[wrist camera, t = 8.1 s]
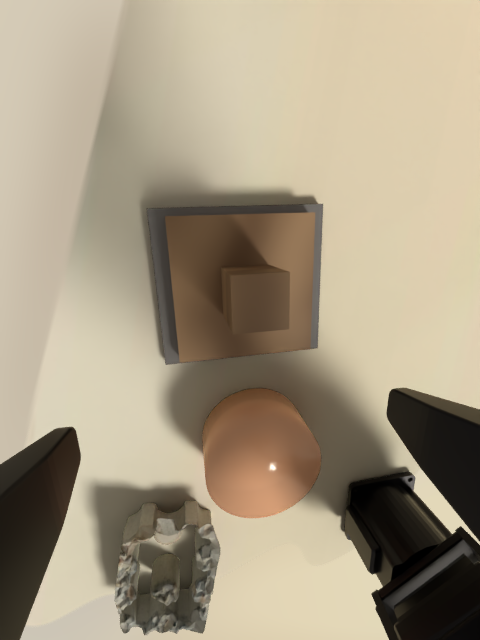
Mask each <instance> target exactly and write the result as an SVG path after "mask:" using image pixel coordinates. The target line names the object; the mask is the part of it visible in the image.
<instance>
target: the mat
mask: <svg viewBox="0 0 480 640" xmlns="http://www.w3.org/2000/svg"><path fill="white" fill-rule="evenodd" d="M310 212H315V235H314V263H313V292H312V320H311V348H310V349H314V348H318V322H319V295H320V269H321V243H322V217H323V204H300V205H261V206H222V207H183V208H147V214H148V223H149V231H150V239H151V248H152V256H153V264H154V272H155V281H156V289H157V297H158V305H159V314H160V322H161V330H162V339H163V347H164V355H165V363H166V365H168V364H177V363H180V360H179V350H178V340H177V330H176V320H175V310H174V300H173V291H172V281H171V271H170V261H169V251H168V241H167V231H166V221H165V216H194V215H233V214H272V213H310ZM295 351H296V350H295ZM286 352H287V351H286ZM276 353H278V352H276ZM267 354H269V353H267ZM257 355H259V354H257ZM248 356H250V355H248ZM238 357H241V356H238ZM229 358H232V357H229ZM219 359H223V358H219ZM210 360H214V359H210ZM200 361H205V360H200ZM191 362H195V361H191ZM181 363H186V362H181Z"/></svg>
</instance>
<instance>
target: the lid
mask: <svg viewBox="0 0 480 640" xmlns="http://www.w3.org/2000/svg"><path fill="white" fill-rule="evenodd" d="M165 221H166V231H167V241H168V251H169V261H170V271H171V281H172V291H173V300H174V310H175V320H176V330H177V340H178V350H179V360H180V363H181V362H191V361H200V360H210V359H219V358H229V357H238V356H248V355H257V354H267V353H276V352H286V351H295V350H305V349H310V348H311V320H312V292H313V263H314V235H315V212H310V213H272V214H233V215H194V216H165Z"/></svg>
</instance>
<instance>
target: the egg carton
mask: <svg viewBox="0 0 480 640" xmlns="http://www.w3.org/2000/svg"><path fill="white" fill-rule="evenodd" d="M188 524H193V525H196V526H197V527H196V529H195V556H194V557H193V559H192V584H191V585H190V587H189V588H187V589H179V588H180V560H179V558H178V557H177V556H175V555H174V554H163V555H161V556H159V557H157V558H156V559H155V561H154V562H153V569H152V578H151V587H150V594H141V595H140V594H139V592H138V590H137V587H138V579H139V572H140V564H139V562H138V554H139V548H140V542H142V541H147V540H149V539H150V538H151V537H152V536H153V535H155V537H154V538H155V540H156V541H157V542H159V543H161V544H165V545H168V544H172V543H175V542H176V541H177V540H178V539H179V538H180V536H181V534H182V531H181V530H182V529H184V528H185V527H186V525H188ZM154 533H155V534H154ZM121 548H122V551H123V553H120V556H119V566H118V573H117V581H116V589H115V603H116V607H117V609H118V613H119V614H120V627H121V629H122V631H123V633H127V632H129V630H130V628H131V627H136V626H138V627H140V628H142V630H143V633H144V635H147V634H148V633H149V632H151V631H153V630H156V631H158V632H159V633H163V632H167V631H170V632H174V633H176V634H177V633H178V631H179V630H180V629H186V630H191V631H194V632H198V633H203V632H204V628H205V624H206V618H207V614H208V607H209V602H210V600H211V595H212V594H213V587H214V580H215V576H216V569H217V564H218V561H219V557H220V545H219V542H218V539H217V537H216V534H215V532H214V528H213V525H212V524H211V512H210V510H204V509H202V508H200V506H199V505H198V503H197V501H185V502H184V505H183V506H182V507H181V508H180V509H179V510H178V511H175V512H172V513H164V512H161V511H160V510H158V508H157V506H156V504H155V503H145V504H143V505H142V507H141V509H140V510H139V511H138V512H137V513H136V514H134V515H131V516H129V517H128V520H127V524H126V526H125V529H124V533H123V542H122V546H121Z"/></svg>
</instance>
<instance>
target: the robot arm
mask: <svg viewBox="0 0 480 640" xmlns="http://www.w3.org/2000/svg"><path fill="white" fill-rule="evenodd" d="M387 418H388V420H389V422H390V424H391V425H392V427H393V428H394V430H395V431H396V433H397V434H398V435H399V437H400V438H401V440H402V441H403V443H404V444H405V446H406V447H407V449H408V450H409V452H410V453H411V455H412V456H413V458H414V459H415V461H416V462H417V464H418V465H419V466H420V468H421V469H422V470H423V471H424V473H425V474H426V475H427V477H428V478H429V479H430V480H431V481H432V483H433V484H434V485H435V486H436V488H437V489H438V490H439V491H440V493H441V494H442V495H443V496H444V498H445V499H446V500H447V501H448V503H449V504H450V505H451V506H452V507H453V509H454V510H455V511H456V513H457V514H458V515H459V516H460V518H461V519H462V520H463V521H464V522H465V524H466V525H467V526H468V528H469V529H470V530H471V531H472V533H473V534H474V535H475V536H476V537H477V539H478V540H479V541H480V410H479V409H476V408H473V407H469V406H466V405H462V404H459V403H456V402H452V401H449V400H445V399H442V398H439V397H435V396H432V395H428V394H425V393H422V392H418V391H415V390H411V389H408V388H396V389H392V390H391V391H390V393H389V398H388V406H387ZM80 460H81V454H80V448H79V444H78V439H77V434H76V430H75V429H74V428H73V427H64V428H57V429H54V430H53V431H51V432H50V433H48V434H47V435H45V436H44V437H42V438H40V439H39V440H37V441H36V442H34V443H33V444H31V445H30V446H28V447H27V448H25V449H23V450H22V451H20V452H19V453H17V454H16V455H14V456H13V457H11V458H10V459H8V460H7V461H5V462H3V463H2V464H0V640H20V638H21V635H22V632H23V630H24V627H25V625H26V622H27V619H28V617H29V614H30V611H31V609H32V606H33V604H34V601H35V598H36V596H37V593H38V590H39V588H40V585H41V583H42V580H43V577H44V575H45V572H46V569H47V567H48V564H49V562H50V559H51V556H52V554H53V551H54V548H55V546H56V543H57V541H58V538H59V535H60V532H61V530H62V527H63V524H64V520H65V517H66V514H67V510H68V506H69V502H70V499H71V495H72V491H73V487H74V484H75V480H76V476H77V472H78V469H79V465H80ZM414 483H415V476H414V475H413V474H412V473H411V472H406V473H401V474H396V475H390V476H385V477H380V478H375V479H369V480H364V481H359V482H354V483H352V484H350V486H349V490H348V502H347V508H346V517H345V535H346V537H347V539H348V540H352V542H353V544H354V546H355V548H356V549H357V551H358V553H359V555H360V557H361V559H362V560H363V562H364V564H365V566H366V568H367V570H368V571H369V572H370V573H371V574H376V575H377V577H378V578H379V580H380V582H381V584H382V585H383V587H382V588H381V589H380V590H376V591H374V592H373V593H372V597H373V599H374V601H375V604H376V611H377V613H378V615H379V617H380V619H381V622H382V624H383V626H384V628H385V631H386V633H387V635H388V638H389V640H480V545H479V544H478V543H477V542H476V541H475V540H474V539H473V538H472V537H471V536H470V535H469V534H468V533H467V532H466V531H465V530H464V529H463V528H462V527H461V526H460V527H459V528H457V529H456V530H455V531H456V532H455V533H454V534H451V532H450V531H449V530H448V529H447V528H446V527H445V526H444V525H443V523H442V522H441V521H440V520H439V519H438V518H437V517H436V516H435V515H434V513H433V512H432V511H431V510H430V509H429V508H428V507H427V506H426V504H425V503H424V502H423V501H422V500H421V499H420V498H419V497H418V496H417V494H416V493H415V492H414V491H413V489H414Z"/></svg>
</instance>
